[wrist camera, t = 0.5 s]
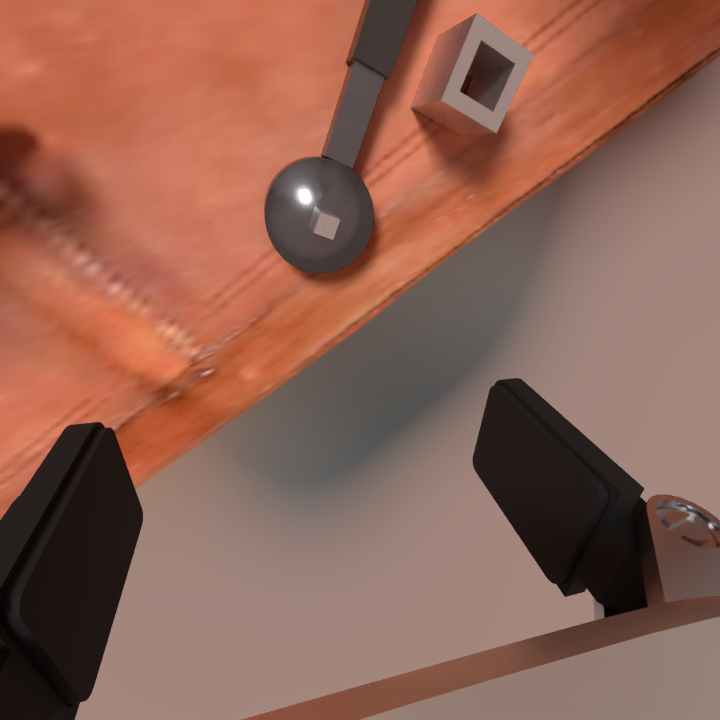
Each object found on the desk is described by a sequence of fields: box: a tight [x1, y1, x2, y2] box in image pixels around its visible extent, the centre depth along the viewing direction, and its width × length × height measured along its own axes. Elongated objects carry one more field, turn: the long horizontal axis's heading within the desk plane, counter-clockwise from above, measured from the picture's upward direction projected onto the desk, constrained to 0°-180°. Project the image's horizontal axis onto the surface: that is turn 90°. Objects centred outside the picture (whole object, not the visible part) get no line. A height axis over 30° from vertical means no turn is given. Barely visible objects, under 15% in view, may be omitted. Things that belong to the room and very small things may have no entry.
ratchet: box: [264, 0, 418, 273], centre depth 28 cm, size 24×9×6 cm, turn 157°
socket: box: [411, 13, 534, 135], centre depth 28 cm, size 5×5×6 cm
